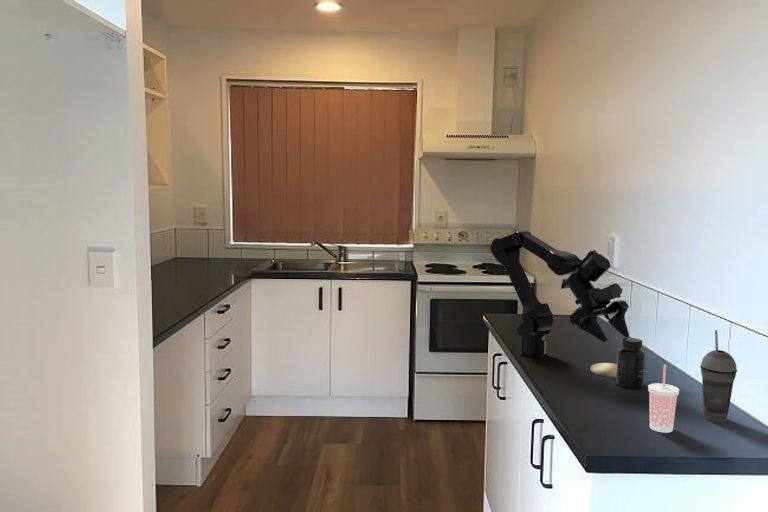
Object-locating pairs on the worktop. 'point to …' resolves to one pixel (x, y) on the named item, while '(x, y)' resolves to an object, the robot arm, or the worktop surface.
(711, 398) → the beverage cup
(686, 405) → the worktop surface
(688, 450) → the worktop surface
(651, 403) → the beverage cup
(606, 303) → the robot arm
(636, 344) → the supplement bottle
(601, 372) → the coaster
